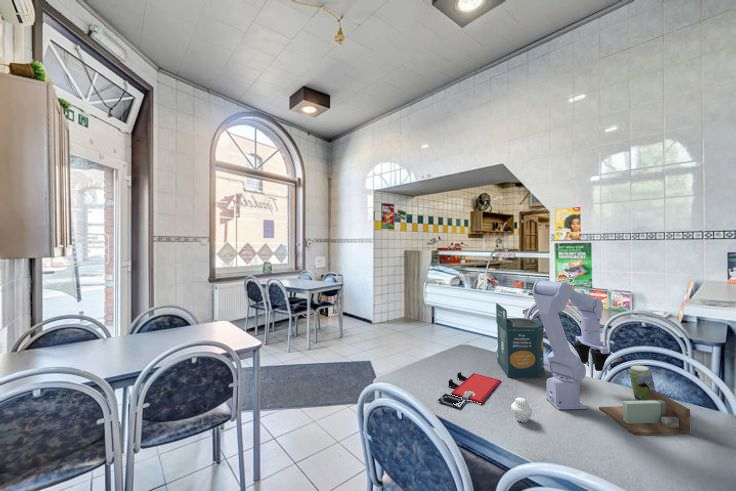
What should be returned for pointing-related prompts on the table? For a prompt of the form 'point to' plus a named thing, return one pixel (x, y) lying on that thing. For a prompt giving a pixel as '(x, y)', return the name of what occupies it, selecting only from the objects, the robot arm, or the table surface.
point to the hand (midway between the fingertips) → (591, 366)
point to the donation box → (519, 345)
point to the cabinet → (671, 424)
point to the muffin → (521, 409)
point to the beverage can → (641, 382)
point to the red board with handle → (470, 389)
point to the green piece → (644, 411)
